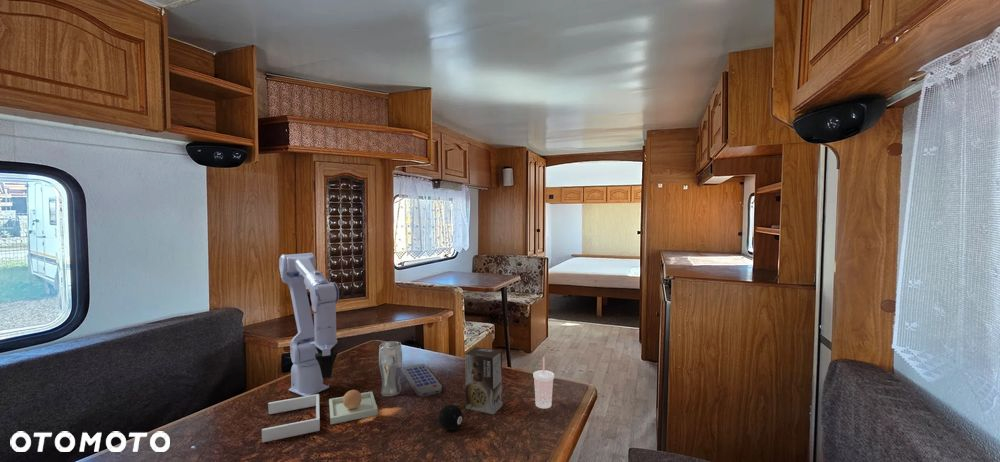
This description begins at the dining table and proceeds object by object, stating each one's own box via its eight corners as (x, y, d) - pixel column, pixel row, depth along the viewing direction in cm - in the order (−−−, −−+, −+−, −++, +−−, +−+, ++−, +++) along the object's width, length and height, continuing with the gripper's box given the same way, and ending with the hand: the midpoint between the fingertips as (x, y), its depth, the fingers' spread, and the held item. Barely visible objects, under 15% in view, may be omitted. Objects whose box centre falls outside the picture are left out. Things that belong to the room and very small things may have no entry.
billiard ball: (452, 437, 99) (452, 413, 99) (434, 430, 103) (434, 407, 102) (467, 426, 104) (467, 404, 104) (449, 420, 108) (449, 398, 107)
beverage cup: (558, 404, 116) (558, 356, 116) (545, 412, 112) (545, 362, 111) (541, 397, 121) (541, 351, 120) (528, 404, 116) (528, 357, 115)
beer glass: (396, 398, 120) (395, 349, 120) (375, 396, 122) (374, 347, 121) (406, 388, 127) (405, 341, 127) (386, 386, 129) (385, 340, 128)
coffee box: (503, 405, 116) (503, 350, 115) (493, 415, 110) (493, 357, 109) (475, 399, 120) (475, 345, 119) (464, 408, 114) (464, 352, 113)
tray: (330, 424, 106) (330, 418, 106) (329, 404, 116) (329, 399, 116) (377, 414, 111) (377, 408, 111) (372, 396, 121) (372, 391, 121)
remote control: (424, 368, 145) (424, 362, 145) (443, 393, 125) (443, 386, 124) (402, 372, 141) (402, 366, 141) (418, 398, 121) (418, 391, 121)
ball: (339, 409, 113) (338, 391, 113) (353, 403, 117) (353, 385, 117) (351, 413, 110) (350, 395, 110) (365, 406, 114) (365, 389, 114)
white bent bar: (262, 442, 97) (261, 430, 97) (268, 413, 112) (268, 402, 112) (319, 430, 103) (319, 419, 103) (319, 403, 117) (319, 393, 117)
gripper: (310, 321, 119) (311, 366, 120) (309, 334, 106) (310, 384, 107) (335, 318, 122) (336, 362, 123) (338, 331, 109) (339, 380, 110)
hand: (326, 372), depth 115 cm, fingers open, 7 cm apart
